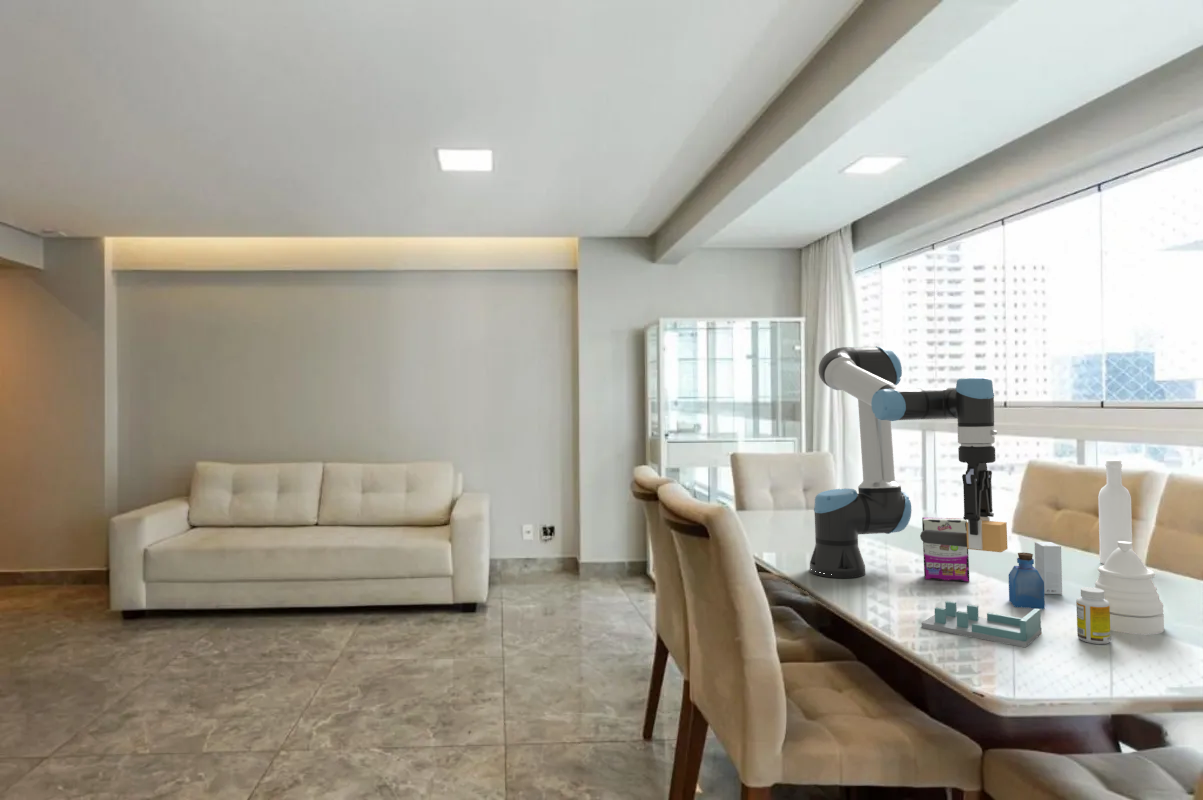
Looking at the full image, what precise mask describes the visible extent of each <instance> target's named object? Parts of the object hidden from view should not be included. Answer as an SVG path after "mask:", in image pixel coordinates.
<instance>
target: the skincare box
mask: <svg viewBox="0 0 1203 800" xmlns="http://www.w3.org/2000/svg"><path fill="white" fill-rule="evenodd" d="M1034 568H1035V569H1036V570H1037V571H1038V573H1039V574H1040V576H1041V578H1042V580H1043V581H1044V595H1063V575H1062V573H1063V568H1062V546H1060V545H1059V544H1056V543H1054V542H1052V541H1034Z"/></svg>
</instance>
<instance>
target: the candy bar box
mask: <svg viewBox="0 0 1203 800" xmlns="http://www.w3.org/2000/svg"><path fill="white" fill-rule="evenodd" d="M921 520H922V522H921V525H922V526H921V527H922V529H921V530H922V531H924V530H937V531H949V532H961V533H967V529H966V523H967V522H968V520H964V519H963V518H961V517H960V518H957V517H924V516H923V517H922V519H921ZM922 545H923V546H922V547H923V548H922V551H923V552H922V553H923V575H924V580H930V581H931V580H932V581H948V582H965V583H967V582H970V561H969V560H970V559H969V549H967V547H961V546H951V545H941V544H930V543H925V542H923V541H922Z"/></svg>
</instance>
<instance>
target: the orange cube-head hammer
mask: <svg viewBox="0 0 1203 800" xmlns="http://www.w3.org/2000/svg"><path fill="white" fill-rule="evenodd" d="M1007 525H1008V524H1007V522H1006V521H996V520H995V521H993V520H992V521H991V520H990V521H982V542H983V549H982V550H981V551H983V552H991V553H1003V552H1004V551H1006V550H1008V530H1007V529H1008V526H1007ZM966 529H967V533H961V532H949V531H937V530H924V531H923V530H922V531H921V533H920V539H921V541H922V543H923V542H925V543H930V544H941V545H951V546H961V547H967V549H968V550H970V549H969V539H968V521H967V523H966ZM971 550H975V551H979V550H978V549H971Z"/></svg>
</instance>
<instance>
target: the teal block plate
mask: <svg viewBox="0 0 1203 800" xmlns="http://www.w3.org/2000/svg"><path fill="white" fill-rule="evenodd" d="M944 606H945V608H942V607H935V608H934V615H932V616H930V617H929V618H927V619H926V620H924V621H922V622H921V628H922V629H926V630H927V629H929V630H934V631H937V632H942V633H949V634H952V635H953V634H954V635H958V636H959V635H960V636H964V637H969V638H975V639H979V640H980V639H981V640H983V641H990V642H996V643H1001V644H1005V645H1011V646H1017V647H1022V648H1027V647H1028V646H1029V645H1030V644H1031V643H1032V642H1033V641H1034V640H1036V638H1037V637H1039V636H1040V635H1041V634H1042V621H1041V619H1042V618H1041V616H1042V615H1041V609H1036V608H1032V610H1030V612H1028V613H1027V614H1026V615H1025V616H1023V617H1017V616H1014V615H1013V616H1012V615H1006V614H1001V613H1000V614H999V613H994V612H987V613H986V618H985V617H982V616H979V606H978V605H976V604H975V605H974V604H967V605H966V611H960V610H958V611H957V608H958V607H957V602H956V601H955V602H954V601H948V600H946V601H945V602H944Z"/></svg>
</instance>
